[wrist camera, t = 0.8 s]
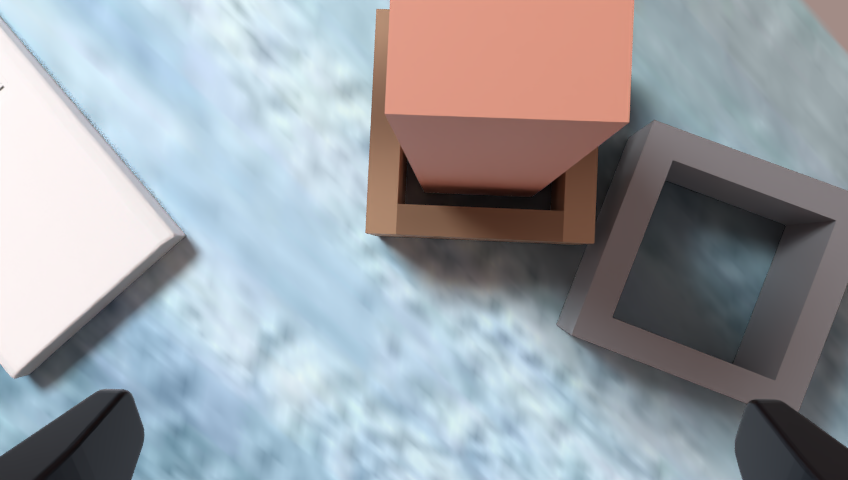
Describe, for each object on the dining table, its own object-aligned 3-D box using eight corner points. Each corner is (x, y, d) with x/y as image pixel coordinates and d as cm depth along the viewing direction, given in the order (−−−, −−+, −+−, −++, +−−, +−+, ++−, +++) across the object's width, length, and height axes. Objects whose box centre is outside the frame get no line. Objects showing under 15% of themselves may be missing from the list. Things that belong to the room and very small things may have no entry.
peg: (531, 197, 23) (629, 122, 10) (424, 192, 23) (384, 114, 10) (536, 90, 23) (638, -120, 10) (429, 86, 23) (395, -124, 10)
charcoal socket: (749, 400, 22) (794, 422, 19) (556, 324, 23) (571, 335, 20) (822, 209, 22) (878, 202, 19) (628, 137, 23) (654, 119, 20)
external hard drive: (37, 372, 24) (-156, 138, 25) (192, 235, 24) (-6, 2, 25) (8, 381, 23) (-198, 130, 23) (173, 234, 23) (-39, -16, 23)
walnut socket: (576, 245, 23) (594, 243, 20) (377, 236, 23) (365, 232, 20) (584, 46, 23) (603, 14, 20) (386, 40, 23) (376, 9, 20)
